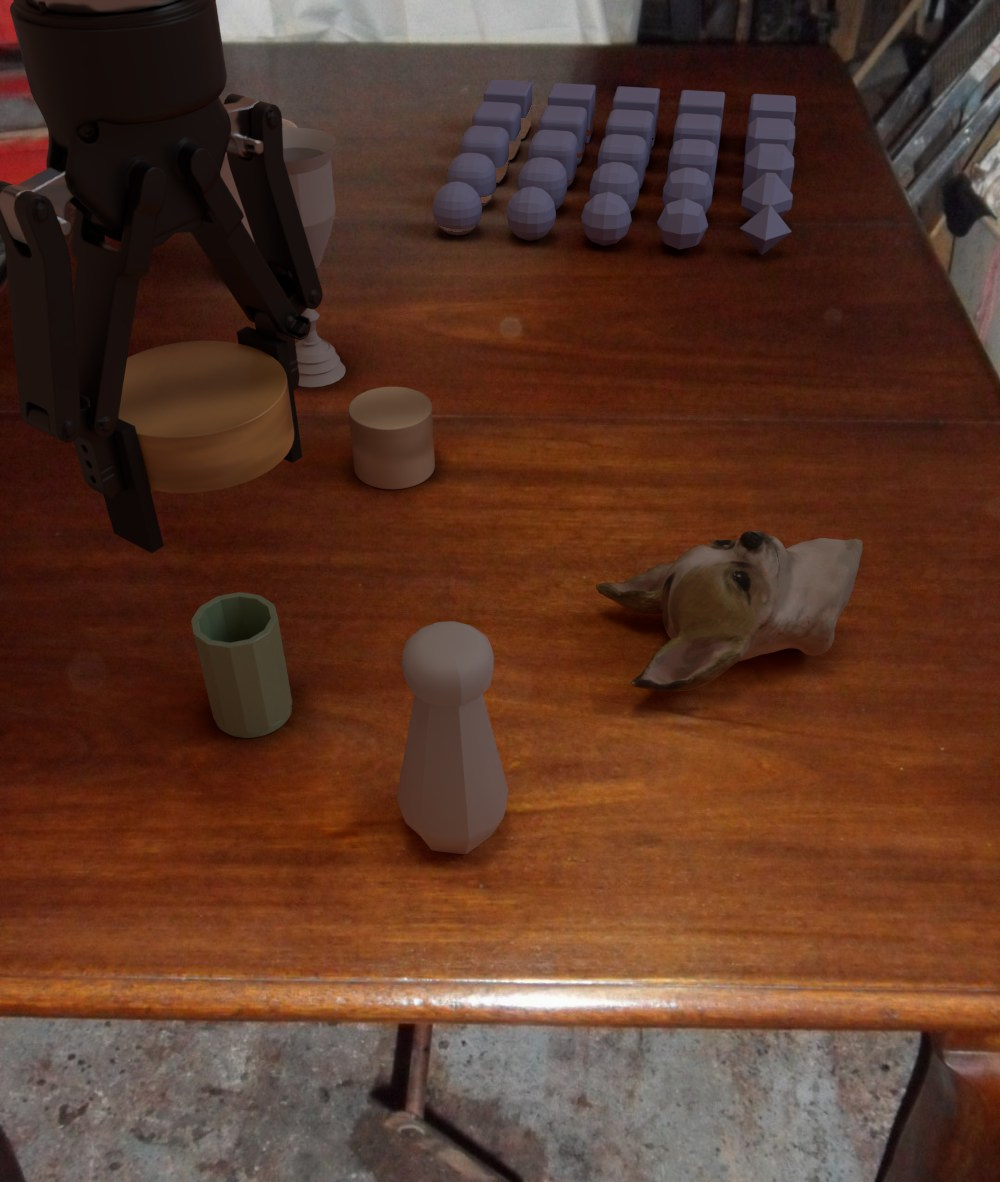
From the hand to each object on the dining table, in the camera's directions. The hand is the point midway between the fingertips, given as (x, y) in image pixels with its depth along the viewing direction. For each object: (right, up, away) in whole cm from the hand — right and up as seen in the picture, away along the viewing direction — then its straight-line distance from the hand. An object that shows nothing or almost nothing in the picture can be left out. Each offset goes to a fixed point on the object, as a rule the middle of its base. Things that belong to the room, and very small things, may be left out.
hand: (211, 493), depth 60 cm
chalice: (-1, +17, +39) cm, 43 cm away
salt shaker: (+12, -17, +4) cm, 21 cm away
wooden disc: (0, +2, -2) cm, 3 cm away
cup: (0, -11, +10) cm, 15 cm away
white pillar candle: (+7, +7, +29) cm, 30 cm away
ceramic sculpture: (+29, -7, +14) cm, 33 cm away
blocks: (+28, +45, +68) cm, 86 cm away
